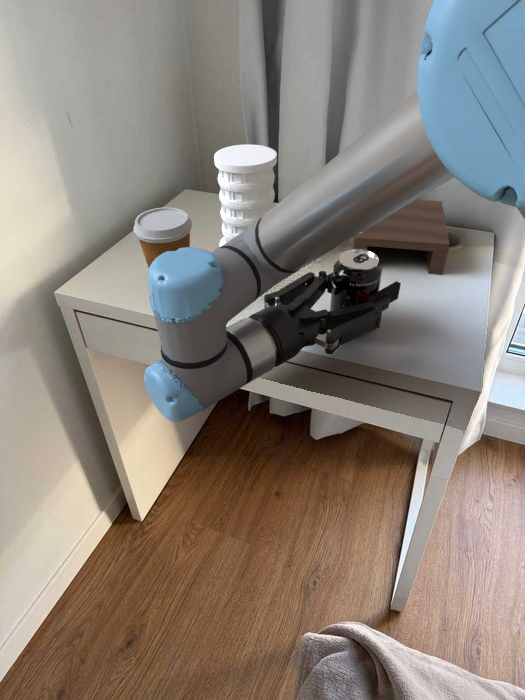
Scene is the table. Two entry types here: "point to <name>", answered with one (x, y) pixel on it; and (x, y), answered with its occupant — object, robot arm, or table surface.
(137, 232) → the disposable coffee cup
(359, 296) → the beverage can
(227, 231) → the decorative container
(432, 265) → the shelf
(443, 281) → the table surface
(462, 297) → the table surface
